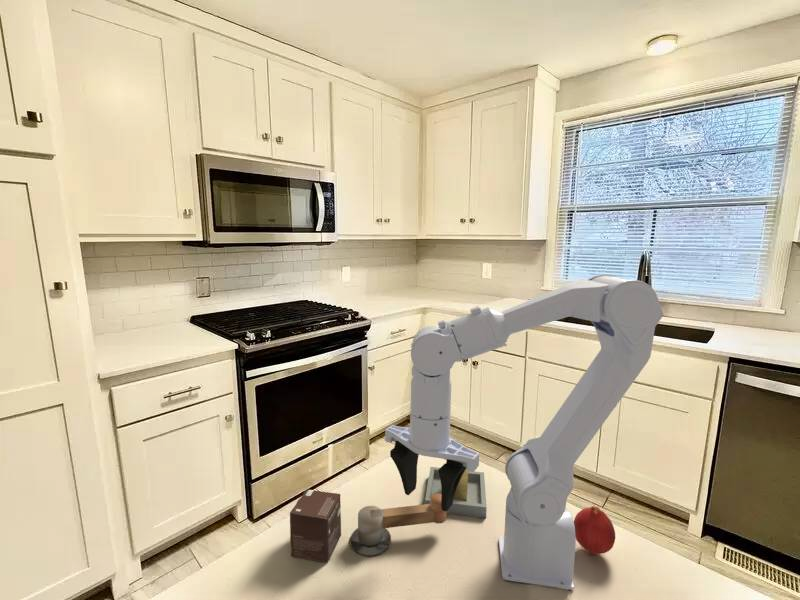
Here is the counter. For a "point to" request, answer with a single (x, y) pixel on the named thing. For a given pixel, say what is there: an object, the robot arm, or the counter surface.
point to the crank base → (370, 550)
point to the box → (315, 525)
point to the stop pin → (462, 487)
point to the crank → (396, 519)
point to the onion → (594, 530)
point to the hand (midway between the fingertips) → (428, 498)
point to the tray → (474, 494)
